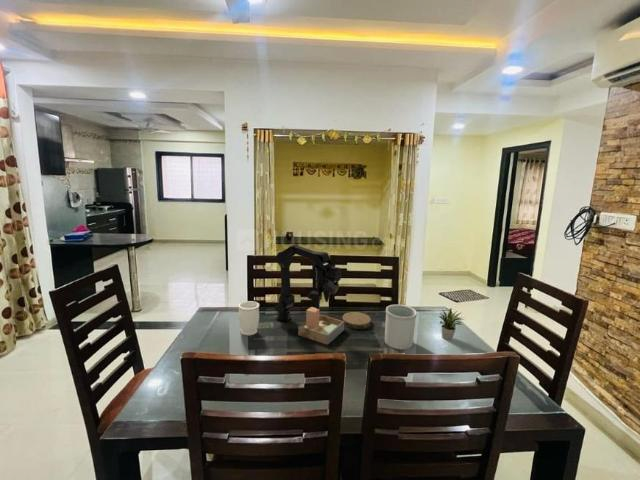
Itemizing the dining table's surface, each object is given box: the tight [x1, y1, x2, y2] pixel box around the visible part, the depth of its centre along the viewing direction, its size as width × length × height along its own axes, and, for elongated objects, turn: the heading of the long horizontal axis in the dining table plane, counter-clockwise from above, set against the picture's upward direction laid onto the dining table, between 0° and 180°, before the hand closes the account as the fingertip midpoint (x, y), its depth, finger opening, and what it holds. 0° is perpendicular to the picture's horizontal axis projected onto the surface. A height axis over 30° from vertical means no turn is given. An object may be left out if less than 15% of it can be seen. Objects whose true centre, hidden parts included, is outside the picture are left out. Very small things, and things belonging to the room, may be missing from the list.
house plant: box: [438, 307, 466, 341], centre depth 175 cm, size 14×14×16 cm
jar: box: [237, 300, 260, 336], centre depth 174 cm, size 11×10×15 cm
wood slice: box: [341, 311, 372, 330], centre depth 191 cm, size 16×16×3 cm
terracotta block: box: [305, 306, 321, 328], centre depth 179 cm, size 5×5×9 cm
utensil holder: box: [384, 304, 418, 350], centre depth 169 cm, size 15×15×18 cm
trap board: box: [297, 313, 333, 342], centre depth 179 cm, size 10×18×5 cm, turn 150°
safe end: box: [315, 317, 345, 346], centre depth 175 cm, size 7×18×5 cm, turn 150°
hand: (322, 305), depth 175 cm, fingers open, 9 cm apart
